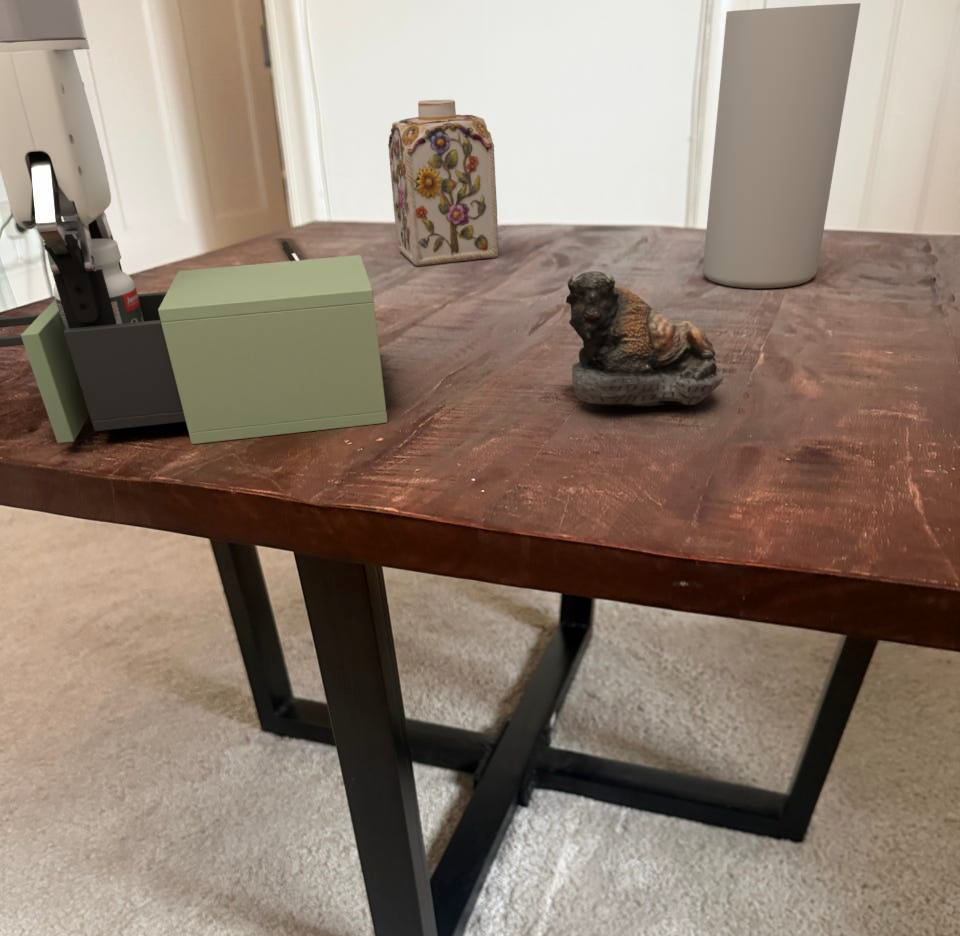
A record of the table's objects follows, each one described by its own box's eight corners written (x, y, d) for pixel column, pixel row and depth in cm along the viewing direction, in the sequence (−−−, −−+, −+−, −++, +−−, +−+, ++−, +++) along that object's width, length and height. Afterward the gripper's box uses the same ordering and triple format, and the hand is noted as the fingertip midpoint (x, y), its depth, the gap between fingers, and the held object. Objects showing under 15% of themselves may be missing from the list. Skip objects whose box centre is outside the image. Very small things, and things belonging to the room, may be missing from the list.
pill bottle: (164, 385, 67) (129, 246, 61) (86, 399, 65) (43, 257, 59) (151, 365, 71) (117, 234, 66) (78, 378, 69) (37, 243, 64)
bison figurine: (703, 385, 70) (716, 252, 65) (734, 415, 65) (752, 271, 59) (557, 398, 70) (558, 264, 64) (576, 430, 64) (577, 285, 58)
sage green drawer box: (191, 444, 65) (157, 309, 60) (205, 390, 76) (177, 270, 70) (387, 422, 67) (372, 289, 61) (374, 372, 77) (361, 254, 72)
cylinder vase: (736, 261, 107) (765, 10, 93) (835, 272, 99) (882, 2, 85) (681, 281, 100) (702, 12, 85) (782, 295, 92) (824, 4, 78)
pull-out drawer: (-24, 452, 63) (-68, 342, 59) (17, 400, 73) (-18, 302, 68) (244, 423, 66) (221, 315, 61) (250, 376, 75) (231, 280, 71)
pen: (296, 270, 114) (295, 261, 113) (281, 245, 129) (279, 237, 129) (303, 270, 114) (302, 260, 114) (287, 245, 129) (285, 237, 129)
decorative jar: (396, 251, 122) (382, 101, 112) (476, 242, 124) (469, 94, 114) (414, 268, 113) (399, 105, 102) (500, 258, 115) (494, 98, 105)
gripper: (-4, 29, 62) (73, 296, 72) (-92, 25, 48) (21, 357, 58) (105, 25, 62) (167, 289, 73) (51, 19, 49) (137, 346, 59)
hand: (101, 316), depth 65 cm, fingers closed on pill bottle, 5 cm apart
